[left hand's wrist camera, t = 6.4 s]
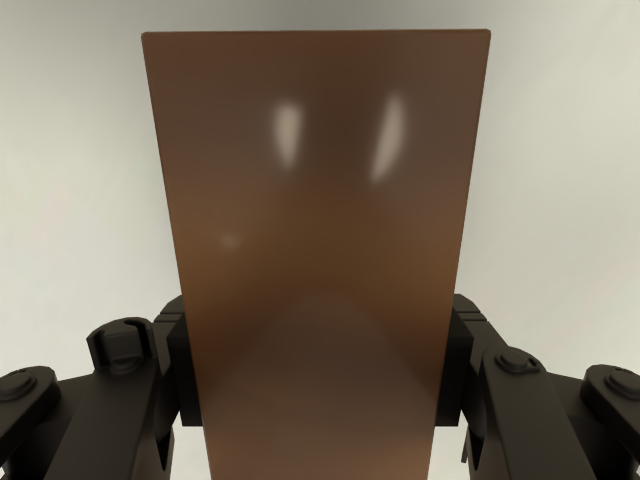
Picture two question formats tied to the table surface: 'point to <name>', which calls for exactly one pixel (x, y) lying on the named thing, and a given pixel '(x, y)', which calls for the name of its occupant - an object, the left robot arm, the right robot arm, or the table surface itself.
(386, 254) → the post
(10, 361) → the table surface
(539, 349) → the table surface
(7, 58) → the table surface
